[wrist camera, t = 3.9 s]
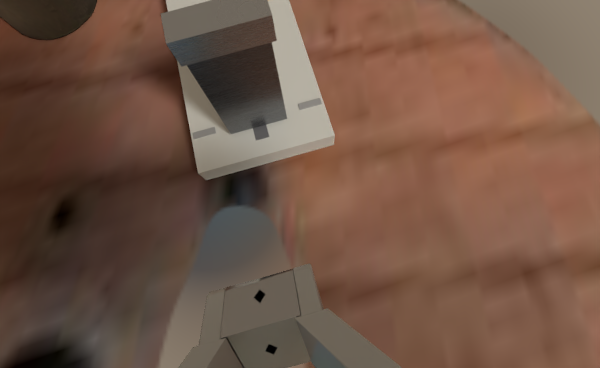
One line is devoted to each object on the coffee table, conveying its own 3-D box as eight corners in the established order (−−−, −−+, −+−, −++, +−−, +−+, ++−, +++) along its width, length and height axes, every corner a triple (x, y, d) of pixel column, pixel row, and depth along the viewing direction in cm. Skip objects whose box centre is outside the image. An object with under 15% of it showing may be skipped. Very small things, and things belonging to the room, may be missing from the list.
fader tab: (227, 135, 26) (166, 43, 15) (223, 115, 26) (160, 13, 16) (290, 117, 26) (272, 15, 15) (284, 98, 26) (263, -14, 16)
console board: (206, 180, 27) (197, 173, 25) (172, 5, 33) (163, -12, 31) (333, 144, 27) (334, 134, 25) (277, -23, 33) (275, -42, 31)
